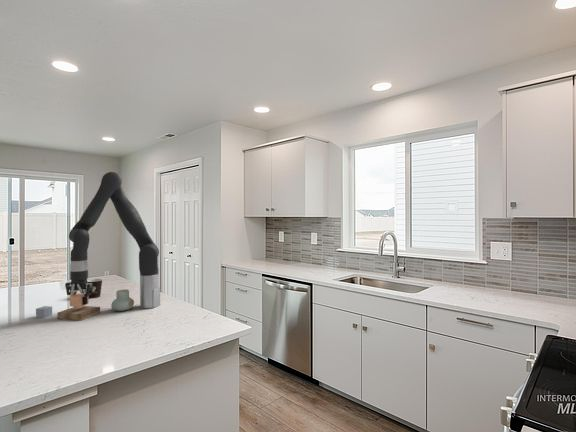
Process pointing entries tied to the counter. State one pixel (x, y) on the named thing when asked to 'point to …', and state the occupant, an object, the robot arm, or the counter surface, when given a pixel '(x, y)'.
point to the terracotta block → (76, 300)
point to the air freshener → (122, 301)
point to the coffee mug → (95, 288)
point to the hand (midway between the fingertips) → (79, 303)
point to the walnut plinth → (78, 313)
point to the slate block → (44, 312)
